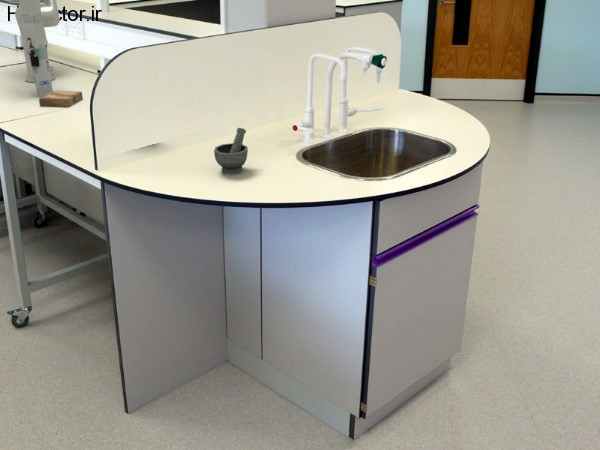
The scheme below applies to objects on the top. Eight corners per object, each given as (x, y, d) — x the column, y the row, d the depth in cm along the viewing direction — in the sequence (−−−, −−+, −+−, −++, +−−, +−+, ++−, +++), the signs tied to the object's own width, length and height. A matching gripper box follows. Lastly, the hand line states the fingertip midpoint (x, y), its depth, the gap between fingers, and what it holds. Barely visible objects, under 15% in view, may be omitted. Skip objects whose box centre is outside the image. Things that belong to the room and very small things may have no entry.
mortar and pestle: (233, 179, 203) (230, 139, 197) (208, 172, 208) (206, 133, 202) (258, 167, 211) (256, 128, 206) (234, 161, 216) (232, 123, 211)
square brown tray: (54, 98, 285) (53, 90, 284) (82, 99, 283) (81, 91, 282) (40, 106, 274) (38, 98, 273) (69, 107, 272) (68, 99, 271)
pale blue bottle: (55, 95, 288) (47, 45, 280) (39, 98, 285) (30, 47, 277) (51, 92, 293) (43, 43, 285) (35, 94, 290) (26, 45, 282)
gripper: (34, 14, 285) (41, 59, 292) (11, 22, 269) (20, 69, 277) (51, 14, 284) (58, 59, 291) (30, 22, 268) (38, 69, 276)
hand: (40, 64), depth 284 cm, fingers closed on pale blue bottle, 6 cm apart
